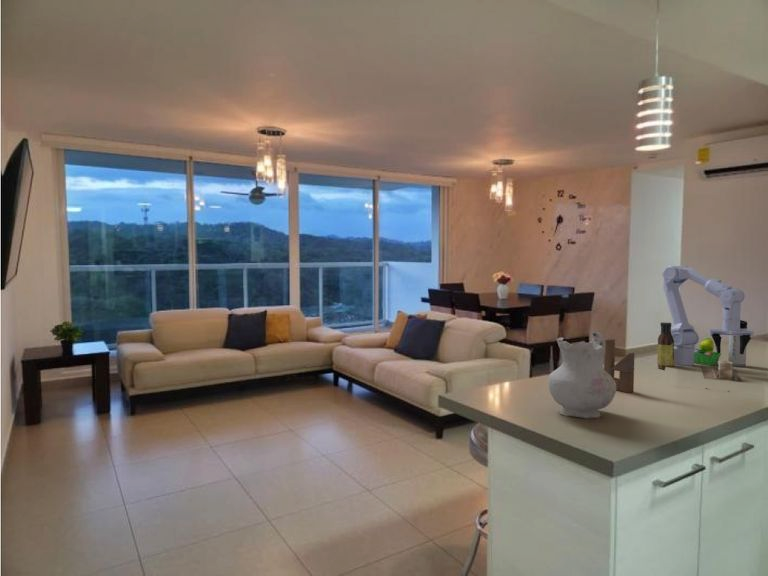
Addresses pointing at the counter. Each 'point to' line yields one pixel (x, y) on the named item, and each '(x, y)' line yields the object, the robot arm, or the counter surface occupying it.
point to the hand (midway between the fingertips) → (729, 353)
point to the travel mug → (737, 348)
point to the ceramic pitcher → (582, 379)
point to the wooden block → (619, 367)
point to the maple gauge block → (725, 369)
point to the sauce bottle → (665, 347)
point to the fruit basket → (706, 353)
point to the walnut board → (712, 373)
